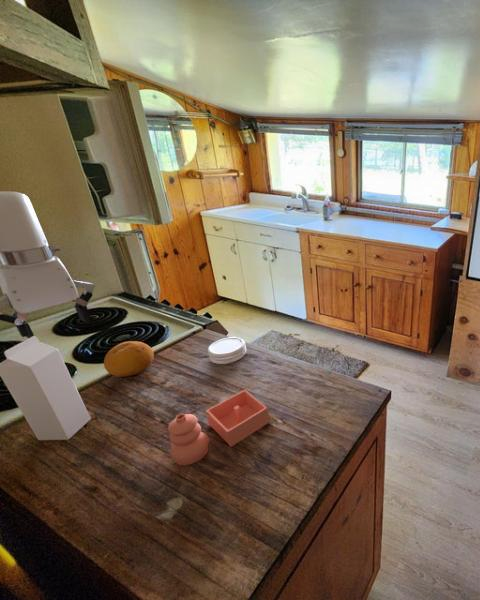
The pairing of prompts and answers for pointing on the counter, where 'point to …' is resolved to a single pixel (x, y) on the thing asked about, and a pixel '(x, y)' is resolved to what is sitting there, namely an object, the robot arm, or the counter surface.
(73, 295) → the robot arm
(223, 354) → the white round flat stack
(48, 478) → the counter surface
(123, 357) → the fruit
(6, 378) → the milk
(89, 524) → the counter surface
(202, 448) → the pottery
